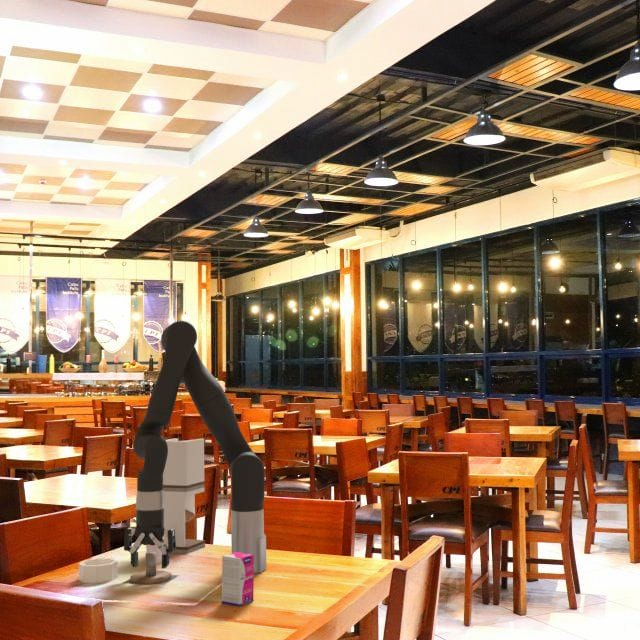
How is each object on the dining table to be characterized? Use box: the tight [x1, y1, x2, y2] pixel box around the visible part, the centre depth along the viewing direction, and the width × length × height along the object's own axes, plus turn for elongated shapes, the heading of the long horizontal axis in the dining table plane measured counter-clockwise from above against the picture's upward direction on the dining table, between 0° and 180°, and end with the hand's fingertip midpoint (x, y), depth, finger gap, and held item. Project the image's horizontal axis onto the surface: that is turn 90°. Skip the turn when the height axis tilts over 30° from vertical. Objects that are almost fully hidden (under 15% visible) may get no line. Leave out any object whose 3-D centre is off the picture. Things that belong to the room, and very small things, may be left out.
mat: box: [122, 574, 179, 586], centre depth 225 cm, size 12×10×1 cm
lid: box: [129, 551, 173, 585], centre depth 225 cm, size 11×11×7 cm
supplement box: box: [221, 552, 255, 607], centre depth 203 cm, size 6×6×12 cm
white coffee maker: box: [163, 437, 206, 555], centre depth 268 cm, size 11×11×35 cm
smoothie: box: [145, 534, 165, 565], centre depth 246 cm, size 6×6×14 cm
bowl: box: [78, 557, 119, 584], centre depth 227 cm, size 10×10×5 cm
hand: (149, 567), depth 226 cm, fingers open, 8 cm apart
